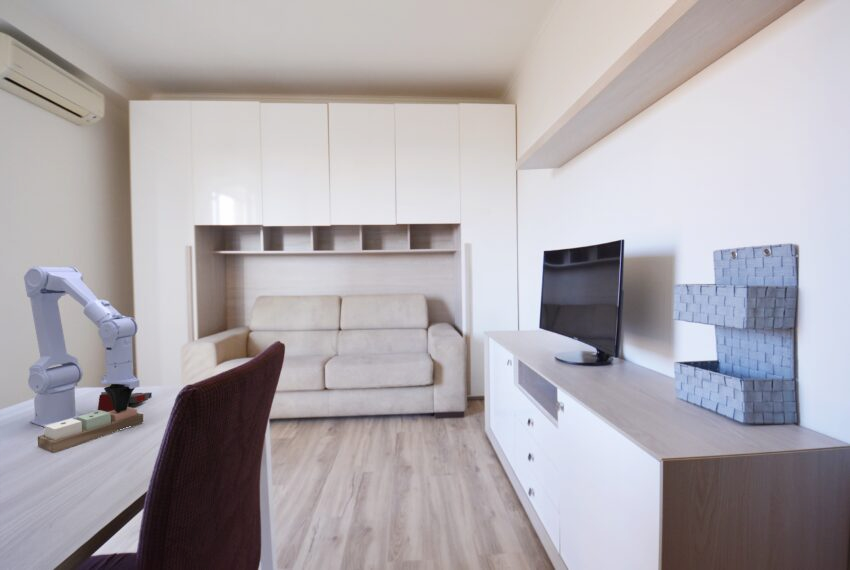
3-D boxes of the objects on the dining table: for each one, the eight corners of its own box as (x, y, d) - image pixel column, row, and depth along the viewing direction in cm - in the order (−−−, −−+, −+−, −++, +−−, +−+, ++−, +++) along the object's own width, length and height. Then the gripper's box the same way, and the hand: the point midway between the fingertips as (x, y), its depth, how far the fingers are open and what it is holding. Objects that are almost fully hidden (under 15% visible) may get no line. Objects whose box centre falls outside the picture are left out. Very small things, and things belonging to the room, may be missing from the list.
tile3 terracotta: (105, 424, 98) (104, 412, 98) (126, 418, 103) (126, 406, 103) (115, 428, 96) (115, 415, 96) (136, 421, 101) (136, 408, 101)
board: (37, 446, 87) (37, 436, 87) (126, 418, 104) (126, 410, 104) (54, 452, 84) (53, 442, 84) (143, 422, 101) (142, 414, 101)
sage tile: (76, 429, 93) (76, 416, 93) (100, 422, 98) (100, 409, 97) (87, 433, 91) (86, 419, 91) (111, 425, 95) (110, 412, 95)
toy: (129, 406, 121) (90, 414, 107) (131, 387, 122) (93, 392, 108) (155, 405, 122) (120, 414, 107) (158, 386, 123) (123, 392, 108)
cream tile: (45, 439, 87) (44, 425, 87) (71, 431, 92) (71, 417, 92) (55, 443, 85) (54, 428, 85) (82, 434, 90) (81, 420, 90)
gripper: (87, 362, 99) (88, 411, 99) (117, 368, 93) (118, 420, 93) (117, 357, 105) (119, 403, 105) (147, 361, 99) (148, 410, 99)
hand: (121, 410), depth 100 cm, fingers closed, pressing on tile3 terracotta
